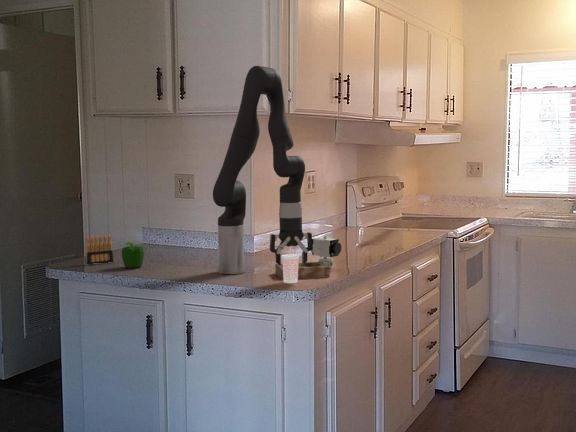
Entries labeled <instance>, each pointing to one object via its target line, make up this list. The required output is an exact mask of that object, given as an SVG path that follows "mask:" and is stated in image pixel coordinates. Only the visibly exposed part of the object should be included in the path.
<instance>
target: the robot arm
mask: <svg viewBox="0 0 576 432" xmlns="http://www.w3.org/2000/svg"><path fill="white" fill-rule="evenodd" d="M281 77H282V76H281V74H280V72H279V71H278V70H277V69H275V68H272V67H269V66H263V65H254V66H252V67H251V68H249V70H248V72H247V74H246V77H245V79H244V84H243V90H242V96H241V100H240V105H239V109H238V113H237V116H236V120H235V124H234V127H233V129H232V133H231V136H230V139H229V143H228V147H227V151H226V154H225V156H224V159H223V164H222V165H221V169H220V171H219V173H218V176H217V178H216V181H215V183H214V185H213V189H212V199H213V202H214V203H215V205H216V206H217V207H221V208H225V209H224V211H223V213H222V214H221V215H220V216H218V218H217V243H218V244H217V271H218V273H219V274H220V275H223V274H224V275H239V274H243V273H245V245H244V244H245V240H244V236H245V235H244V233H245V231H244V230H245V229H244V222H245V221H244V220H245V217H246V214H247V213H246V207H247V192H246V188H245V186H244V184H243V183H242V181H240V180H238V177H239V174H240V172H241V170H242V169H243V168H244V166H245V165H246V163H248V161H249V160H250V158H252V156H253V154H254V153H255V150H256V149H257V148H256V147H257V144H258V141H259V138H260V134H261V133H260V132H261V131H260V123H259V122H260V121H259V119H258V105H259V102H260V97H261V96H262V95H265V96H266V98H267V101H268V103H269V108H270V109H269V117H268V122H267V130H268V134H269V138H270V142H271V145H272V164H273V165H272V166H273V170H274V173H275V174H276V175H277V176H278V177H280V178H288V180H287V183H285V184H283V185H280V187H279V208H278V209H279V210H278V211H279V212H278V216H279V217H278V218H279V220H278V221H279V232H278V234H273V233H271V234H270V235H269V251H270V252H271V253H273V254H274V255H275V264H278V265H281V264H282V258H281V255H282V254H281V252H282V251H283V250H284V249H285V247H289V248H290V246H291V247H297V246H298V247H299V248H300V249H301V251H302V252H301V263H303V264H306V262H308V253H309V252H311V250H313V243H312V239H313V234H312V233H311V232H309V231H308V232H303V211H302V210H303V208H302V195H301V193H302V192H301V190H302V185H303V181H304V177H305V174H306V173H305V172H306V164H305V161H304V159H303V158H302V157H301V156H300V155H287V152H288V151H289V150H291V149H293V147H294V140H293V139H294V138H293V136H292V134H291V130H290V127H289V122H288V119H287V113H286V105H285V97H284V88H283V82H282V81H283V80H282V78H281ZM304 238H305V239H306V241H307V242H306V243H307V245H306V246H307V247H306V246H305V245H304V244H303V242H302V240H303V239H304ZM278 239H279V241H280V242H279V244H278V246H277V248H276V241H278Z"/></svg>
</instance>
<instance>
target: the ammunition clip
mask: <svg viewBox="0 0 576 432" xmlns="http://www.w3.org/2000/svg"><path fill="white" fill-rule="evenodd" d="M94 235H95V236H93V234H92V233H91V235H90V237H89V234H86V238H85V263H87V264H93V263H107V264H109V263H108V262H113V263H114V254H113V244H112V243H113V242H112V236H111V233H110V232H109V233H108V236H107V234H106V233H104V234H103V235H102V233H99V237H98V234H97V233H96V234H94Z"/></svg>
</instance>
